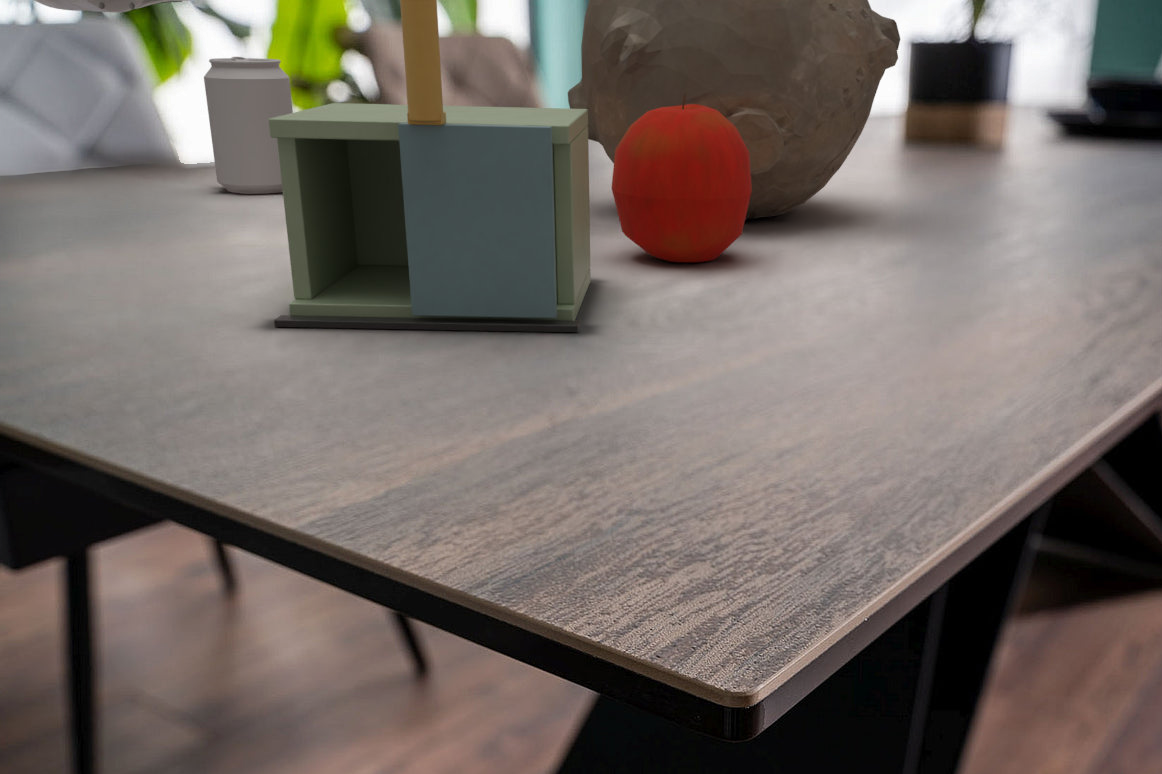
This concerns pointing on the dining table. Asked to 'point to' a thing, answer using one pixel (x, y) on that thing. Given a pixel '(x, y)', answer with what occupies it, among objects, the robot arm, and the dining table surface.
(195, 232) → the dining table surface
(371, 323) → the cabinet
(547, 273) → the door
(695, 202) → the apple
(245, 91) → the can
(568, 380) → the dining table surface
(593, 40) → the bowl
